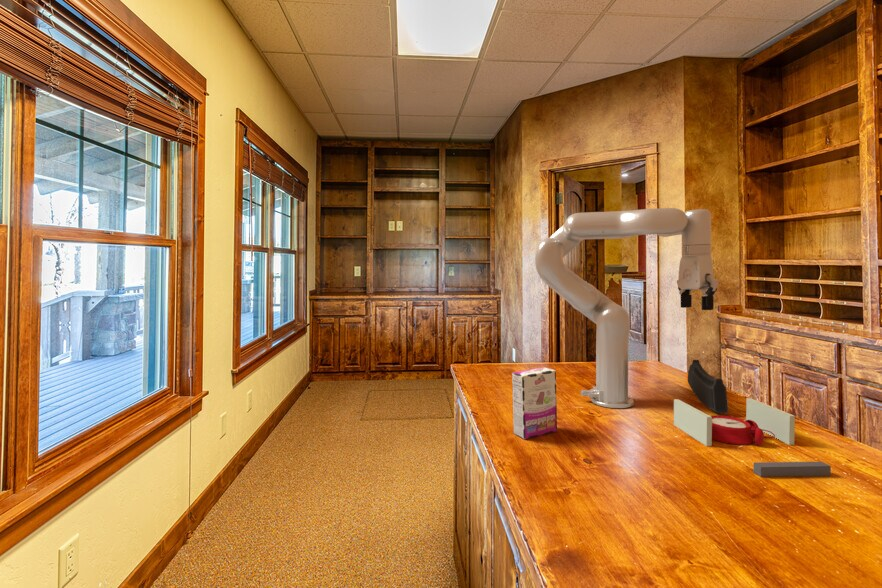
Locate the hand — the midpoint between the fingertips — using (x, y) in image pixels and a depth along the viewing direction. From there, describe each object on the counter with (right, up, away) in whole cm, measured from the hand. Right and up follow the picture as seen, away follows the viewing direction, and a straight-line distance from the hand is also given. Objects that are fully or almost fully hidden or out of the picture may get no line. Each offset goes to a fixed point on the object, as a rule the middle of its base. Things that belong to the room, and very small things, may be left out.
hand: (696, 308), depth 125 cm
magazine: (+8, -30, +8) cm, 32 cm away
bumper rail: (-5, -32, -40) cm, 52 cm away
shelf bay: (-3, -31, -19) cm, 37 cm away
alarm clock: (-3, -32, -21) cm, 39 cm away
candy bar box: (-52, -32, -16) cm, 63 cm away
